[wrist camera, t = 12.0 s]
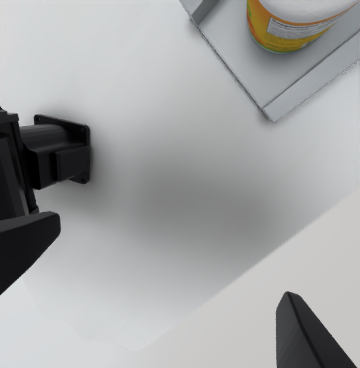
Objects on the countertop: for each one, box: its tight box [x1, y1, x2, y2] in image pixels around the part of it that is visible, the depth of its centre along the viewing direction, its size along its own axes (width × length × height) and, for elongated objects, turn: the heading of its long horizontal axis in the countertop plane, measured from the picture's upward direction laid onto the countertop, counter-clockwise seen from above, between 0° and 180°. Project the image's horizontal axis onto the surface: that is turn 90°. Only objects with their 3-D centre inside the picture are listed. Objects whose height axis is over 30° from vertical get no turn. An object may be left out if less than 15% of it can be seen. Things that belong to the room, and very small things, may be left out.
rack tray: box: [179, 0, 360, 123], centre depth 13 cm, size 10×10×3 cm
